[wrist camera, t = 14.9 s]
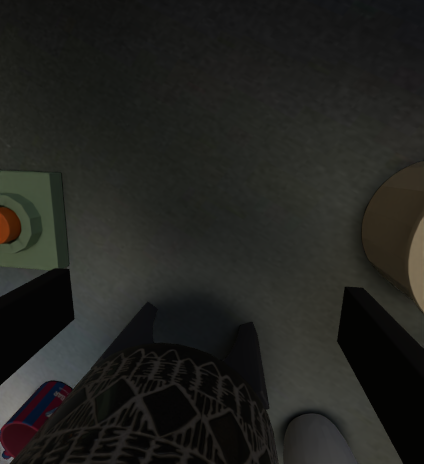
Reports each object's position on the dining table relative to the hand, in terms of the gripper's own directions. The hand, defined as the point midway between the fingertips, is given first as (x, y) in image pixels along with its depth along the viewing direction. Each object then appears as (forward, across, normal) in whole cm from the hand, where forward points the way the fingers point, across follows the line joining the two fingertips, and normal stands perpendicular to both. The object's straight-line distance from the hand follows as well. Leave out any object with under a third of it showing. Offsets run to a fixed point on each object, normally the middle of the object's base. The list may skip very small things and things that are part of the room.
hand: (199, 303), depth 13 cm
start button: (+17, -25, -1) cm, 30 cm away
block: (+20, -25, -1) cm, 32 cm away
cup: (+20, -26, -30) cm, 44 cm away
